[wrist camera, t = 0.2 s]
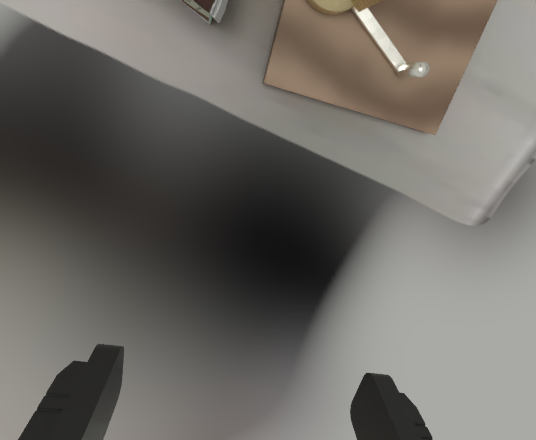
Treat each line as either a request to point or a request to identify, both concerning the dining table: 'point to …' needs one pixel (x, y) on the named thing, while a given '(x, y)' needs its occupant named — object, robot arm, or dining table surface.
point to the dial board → (378, 56)
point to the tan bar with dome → (372, 33)
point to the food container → (207, 8)
